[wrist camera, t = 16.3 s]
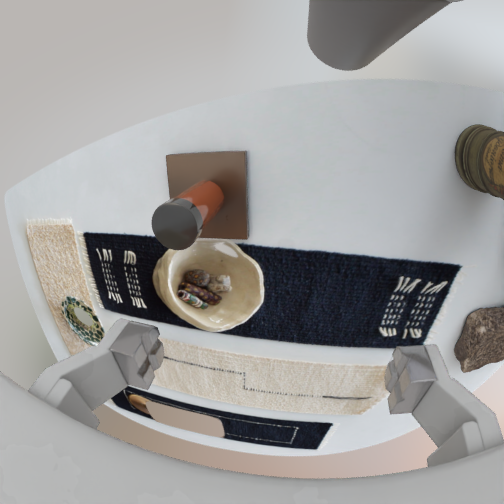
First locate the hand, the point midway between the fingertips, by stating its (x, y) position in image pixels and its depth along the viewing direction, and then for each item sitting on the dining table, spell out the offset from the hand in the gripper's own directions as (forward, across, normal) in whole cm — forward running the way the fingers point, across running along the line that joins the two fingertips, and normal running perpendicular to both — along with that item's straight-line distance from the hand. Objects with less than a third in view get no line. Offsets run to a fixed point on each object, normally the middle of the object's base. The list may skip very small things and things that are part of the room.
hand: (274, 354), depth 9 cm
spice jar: (+26, +11, +2) cm, 28 cm away
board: (+27, +11, +2) cm, 29 cm away
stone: (+27, -38, +23) cm, 52 cm away
